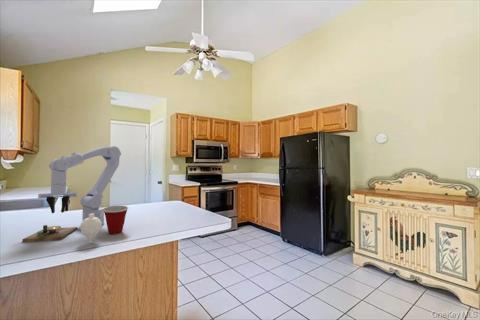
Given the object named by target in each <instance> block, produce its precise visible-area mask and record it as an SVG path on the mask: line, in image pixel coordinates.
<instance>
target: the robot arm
mask: <svg viewBox="0 0 480 320" xmlns="http://www.w3.org/2000/svg"><path fill="white" fill-rule="evenodd" d="M121 155H122V151H121V150H120V148H119V147H118V146H116V145H115V146H103V147H99V148H95V149H92V150H89V151H87V152H84V153H79V152H71V154H69V155H66V156H60V158H55V159H52V160H51V161H50V163H49V164H48V167H49V169H50V171H51V174H50V192H47V193H46V192H45V193H39V194H38V195H37V198H38V199H45V201H46V203H47V204H48V206H49V208H50V211H51V214H55V211H56V210H55V209H56V208H55V207H56V206H55V202H56V198H61V213H62V214H63V213H65V209H66V206H67V204H68V201H69V200H70V197H71V198H73V197H74V198H75V197H76V198H77V197H78V192H77V191H73V192H70V191H69V192H67V171H68V169H71V168H72V167H77V166H78V165H82V164H83V163H84V161H85V160H89V159H92V158H94V157H98V156H99V157H101V156H102V158H103V160H104V161H105V162H106V166H105V168H104V169H103V170H102V173H101V174H100V175H99V177H98V178H97V181H96V182H95V184H94V185H93V187H92V188H91V190H89V191H88V192H86V194H85V195H84V196H82V197H81V199H80V206H82V219H81V220H82V221H81V223H82V222H83V220H84V219H86V218H89V214H94V217H97V218H99V219H100V220H101V222H102V225H103V224H105V213H104V211H103V209H104V208H100V206H101V205H102V200H103V198H104V195H103V193H104V191H105V189H106V188H107V186H108V184H109V183H110V181H111V180H112V178H113V176H114V174H115V173H116V171H117V169H118V168H119V166H120V157H121ZM78 228H80V226H78Z"/></svg>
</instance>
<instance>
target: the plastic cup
mask: <svg viewBox="0 0 480 320" xmlns="http://www.w3.org/2000/svg"><path fill="white" fill-rule="evenodd" d="M102 209H103V211H104V218H105V222H106V227H107V232H108V235H118V234H122V233H123V230H124V225H125V221H126V220H125V219H126V214H127V211H128V209H129V207H128V206H126V205H111V206H106V207H104V208H102Z"/></svg>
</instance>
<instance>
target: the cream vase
mask: <svg viewBox="0 0 480 320" xmlns="http://www.w3.org/2000/svg"><path fill="white" fill-rule="evenodd" d="M102 225H103V224H102V222H101V220H100V219H99V218H97V217H94V214H89V218H86V219H84V220H83V222H82V221H81V223H80V225H79V227H80V231H81V233H82V234H83V235H84V236H85V238H86V239H87V240H89V241H90V243H92V241H93V240H94V239H95V238H96V236H97V235H98V234H99V232H100V230H101V229H102Z"/></svg>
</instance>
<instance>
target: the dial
mask: <svg viewBox="0 0 480 320" xmlns="http://www.w3.org/2000/svg"><path fill="white" fill-rule="evenodd" d="M60 228H62V226H61V225H51V226H48V224H44V225H43V226H42V230H43V233H47V232H48V231H52V230H58V229H60Z"/></svg>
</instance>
